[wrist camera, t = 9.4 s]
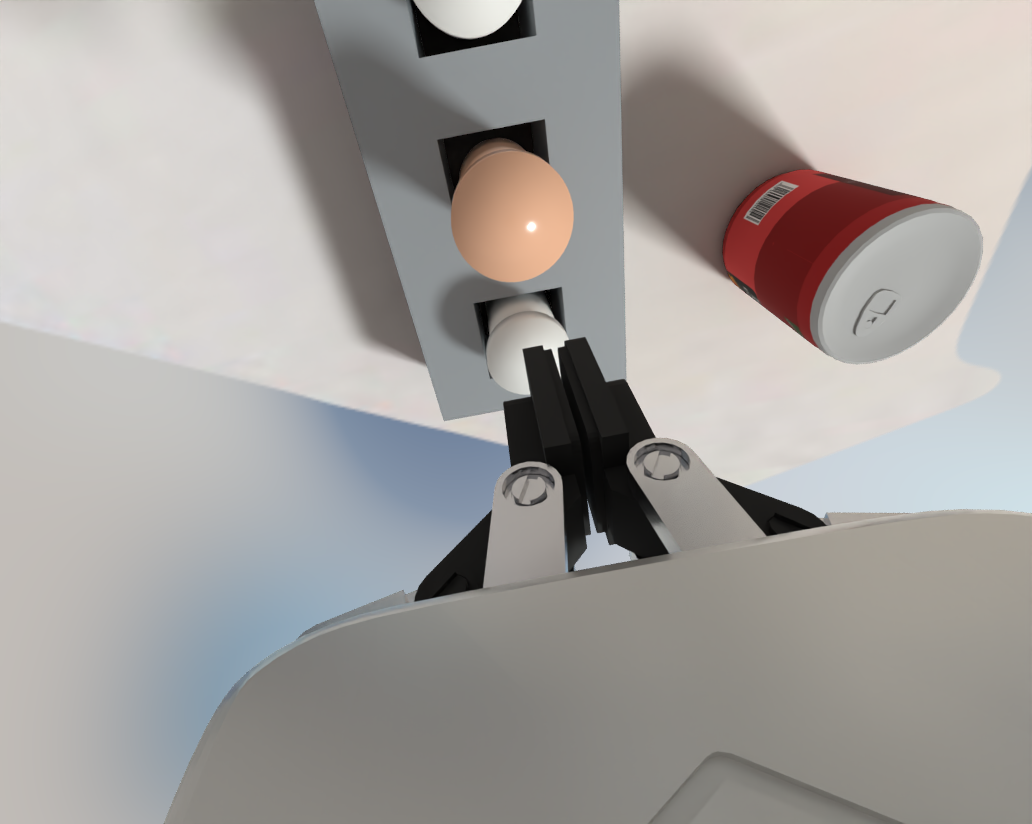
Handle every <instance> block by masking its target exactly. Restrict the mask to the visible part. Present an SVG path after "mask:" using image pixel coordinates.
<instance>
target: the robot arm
mask: <svg viewBox="0 0 1032 824" xmlns="http://www.w3.org/2000/svg"><path fill="white" fill-rule="evenodd" d="M522 350H523V356H524V362H525V367H526V373H527V379H528V384H529V390H530V395H531V396H530V397H525V398H520V399H514V400H509V401H504V402H503V406H504V414H505V422H506V430H507V438H508V446H509V454H510V462H511V467H510V468H509V469H508V470H506V471H505V472H504V473H502V475H501V476H500V477H499V479H498V480H497V483H496V486H495V491H494V499H493V508H492V510H491V511H490V512H489V513H488V514H487V515H486V516H485V517H484V518H483V519H482V521H480V523H478V525H476V527H475V528H474V529H473V530H472V531H471V532H470V533H469V534H468V535H467V536H466V537H465V538H464V539H463V540H462V541H461V542H460V543H459V544H458V545H457V546H456V547H455V548H454V549H453V550H452V551H451V552H450V553H449V554H448V555H447V556H446V557H445V558H444V559H443V560H442V561H441V562H440V563H439V564H438V565H437V566H436V567H435V568H434V569H433V571H431V572H430V573H429V574H428V575H427V576H426V578H425V579H424V580H423V582H422V583H421V584H420V585H419V587H418V590H416V591H413V592H411V593H408V594H405V592H404V590H402V591H399V592H397V593H394V594H392V595H389V596H387V597H384V598H382V599H379V600H377V601H374V602H372V603H369V604H367V605H364V606H362V607H359V608H357V609H354V610H352V611H349V612H347V613H344V614H342V615H339V616H337V617H335V618H332V619H330V620H327V621H325V622H322V623H320V624H317V625H315V626H313V627H312V628H310V629H308V630H306V631H305V632H304V633H303V634H302V635H301V636H299V638H298V639H296V640H295V641H294V642H292V643H290V644H288V645H286V646H285V647H283V648H281V649H279V650H277V651H276V652H274V653H273V654H271V655H270V656H268V657H267V658H265V659H264V660H262V661H261V662H260V663H258V664H257V665H256V666H255V667H253V668H252V669H251V670H249V671H248V672H247V673H246V674H245V675H244V676H243V677H242V678H241V679H240V680H239V681H238V682H237V683H236V684H235V685H234V686H233V687H232V688H231V690H230V691H229V692H228V694H227V695H226V696H225V697H224V699H223V700H222V702H221V703H220V705H219V706H218V708H217V710H216V711H215V713H214V715H213V716H212V718H211V720H210V722H209V723H208V725H207V727H206V729H205V731H204V733H203V735H202V737H201V739H200V741H199V744H198V746H197V748H196V750H195V752H194V754H193V756H192V758H191V760H190V762H189V765H188V767H187V769H186V771H185V774H184V776H183V778H182V781H181V783H180V785H179V788H178V790H177V792H176V794H175V797H174V799H173V802H172V804H171V807H170V809H169V812H168V815H167V817H166V819H165V822H164V824H1032V513H1024V512H1014V511H1005V510H973V509H972V510H971V509H958V510H942V511H927V512H920V513H826V515H825V517H824V518H818V517H816V516H815V515H814V514H812V513H810V512H808V511H806V510H804V509H802V508H799V507H797V506H794V505H791V504H788V503H786V502H783V501H780V500H777V499H775V498H772V497H769V496H767V495H764V494H761V493H758V492H755V491H753V490H750V489H747V488H745V487H742V486H739V485H736V484H734V483H731V482H728V481H726V480H723V479H720V478H717V477H715V476H714V474H713V473H712V472H711V471H710V470H709V469H708V467H707V466H706V465H705V464H704V463H703V462H702V460H701V459H700V458H699V457H698V456H697V455H696V453H695V452H694V451H693V450H692V449H691V448H689V447H688V446H687V445H685V444H683V443H681V442H679V441H677V440H673V439H668V438H656V437H655V435H654V434H653V432H652V430H651V428H650V426H649V424H648V422H647V420H646V418H645V416H644V414H643V412H642V410H641V408H640V407H639V405H638V403H637V401H636V399H635V397H634V395H633V393H632V391H631V389H630V387H629V385H628V383H627V382H626V380H625V379H619V380H614V381H609V382H606V381H605V379H604V377H603V374H602V372H601V370H600V368H599V366H598V363H597V361H596V359H595V357H594V355H593V352H592V350H591V348H590V346H589V343H588V341H587V339H586V337H581V338H576V339H571V340H566V341H564V346H563V347H558V358H559V366H560V374H561V377H560V374H559V371H558V368H557V365H556V361H555V358H554V355H553V352H552V349H548V350H544V348H543V345H540V346H535V347H530V348H524V349H522ZM587 500H588V503H589V507H590V510H591V514H592V517H593V520H594V524H595V528H596V531H597V533H602V532H605V533H606V536H607V539H608V543H609V545H613V544H617V545H619V546H621V547H623V548H625V549H627V550H629V556H630V559H631V561H627V562H622V563H616V564H611V565H605V566H600V567H595V568H589V569H584V570H578V571H575V563H576V562H577V561H578V559H579V558H580V557H581V555H582V554H583V553H584V552H585V550H586V549H587V544H586V536H585V535H590V534H591V531H590V522H589V512H588V503H587Z"/></svg>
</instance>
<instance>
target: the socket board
mask: <svg viewBox="0 0 1032 824" xmlns="http://www.w3.org/2000/svg"><path fill="white" fill-rule="evenodd" d="M314 3H315V6H316V9H317V12H318V15H319V19H320V22H321V25H322V28H323V32H324V35H325V38H326V41H327V45H328V48H329V51H330V54H331V57H332V61H333V64H334V67H335V70H336V74H337V77H338V80H339V83H340V87H341V90H342V93H343V96H344V100H345V103H346V106H347V109H348V112H349V116H350V119H351V122H352V125H353V129H354V132H355V135H356V138H357V142H358V145H359V148H360V151H361V154H362V158H363V161H364V164H365V167H366V171H367V174H368V177H369V180H370V184H371V187H372V190H373V193H374V196H375V200H376V203H377V206H378V209H379V213H380V216H381V219H382V222H383V226H384V229H385V232H386V235H387V239H388V242H389V245H390V248H391V251H392V255H393V258H394V261H395V264H396V268H397V271H398V274H399V277H400V281H401V284H402V287H403V290H404V293H405V297H406V300H407V303H408V306H409V310H410V313H411V316H412V319H413V323H414V326H415V329H416V332H417V336H418V339H419V342H420V345H421V348H422V352H423V355H424V358H425V361H426V365H427V368H428V371H429V374H430V378H431V381H432V384H433V387H434V390H435V394H436V397H437V400H438V403H439V407H440V410H441V413H442V416H443V420H444V421H447V420H453V419H458V418H464V417H469V416H474V415H480V414H485V413H490V412H496V411H501V410H504V406H503V402H504V401H509V400H514V399H520V398H525V397H530V396H531V395H523V394H516V393H513V392H510V391H508V390H506V389H504V388H502V387H501V386H500V385H498V384H497V383H496V382H495V380H494V379H493V378H492V376H491V374H490V372H489V369H488V365H487V356H486V346H487V341H488V338H489V336H490V335H485V331H484V327H483V322H482V317H481V313H480V308H479V303H478V302H484V301H489V300H494V299H500V298H505V297H510V296H516V295H521V294H526V293H532V292H537V291H542V290H548V289H550V295H551V303H552V312H553V316H554V318H555V319H556V320H557V321H558V322H559V323H560V324H561V325H562V327H563V328H564V330H565V332H566V334H567V336H568V338H569V340H571V339H576V338H581V337H586V339H587V341H588V343H589V346H590V348H591V350H592V352H593V355H594V357H595V359H596V361H597V363H598V366H599V368H600V370H601V372H602V374H603V377H604V379H605V381H606V382H609V381H614V380H619V379H625V380H626V335H625V283H624V231H623V179H622V127H621V75H620V23H619V0H522V1H521V3H520V5H519V6H518V8H517V13H518V21H519V30H520V39H516V40H511V41H506V42H501V43H495V44H490V45H485V46H480V47H475V48H470V49H464V50H459V51H454V52H449V53H444V54H438V55H433V56H428V57H425V52H424V47H423V43H422V38H421V33H420V29H419V24H418V19H417V15H416V10H415V5H414V1H413V0H314ZM527 122H530V124H531V132H532V141H533V149H534V154H535V155H537V156H539V157H540V158H542V159H543V160H545V161H546V162H547V163H548V164H549V165H550V166H551V167H552V168H553V169H554V170H555V171H556V172H557V173H558V174H559V175H560V176H561V178H562V179H563V181H564V182H565V184H566V186H567V188H568V190H569V193H570V196H571V199H572V203H573V211H574V221H573V229H572V233H571V237H570V240H569V242H568V245H567V247H566V249H565V251H564V252H563V254H562V255H561V257H560V258H559V259H558V260H557V261H556V263H555V264H554V265H552V266H551V267H550V268H549V269H548V270H546V271H545V272H544V273H542V274H540V275H538V276H536V277H534V278H532V279H529V280H525V281H520V282H502V281H497V280H494V279H491V278H488V277H486V276H484V275H482V274H481V273H479V272H478V271H476V270H475V269H474V268H472V267H471V266H470V265H469V264H468V263H467V262H466V260H465V259H464V258H463V256H462V255H461V253H460V251H459V250H458V248H457V245H456V243H455V240H454V237H453V234H452V228H451V207H452V200H453V195H454V187H453V182H452V178H451V173H450V168H449V164H448V159H447V154H446V150H445V145H444V140H443V139H444V138H449V137H454V136H459V135H464V134H470V133H475V132H480V131H485V130H491V129H496V128H501V127H506V126H512V125H517V124H522V123H527Z"/></svg>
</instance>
